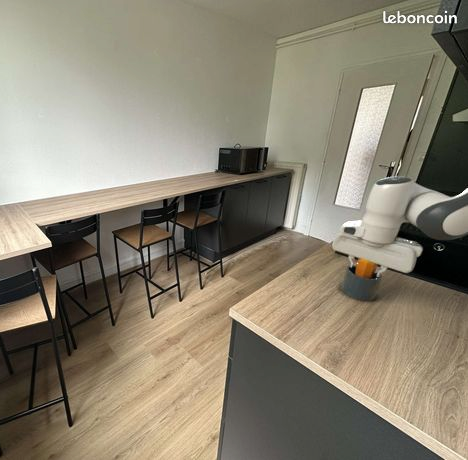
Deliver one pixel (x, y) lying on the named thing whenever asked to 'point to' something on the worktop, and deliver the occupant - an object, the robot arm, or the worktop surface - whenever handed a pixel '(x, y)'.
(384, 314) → the worktop surface
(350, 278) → the tumbler
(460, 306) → the worktop surface
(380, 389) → the worktop surface
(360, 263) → the carrot
